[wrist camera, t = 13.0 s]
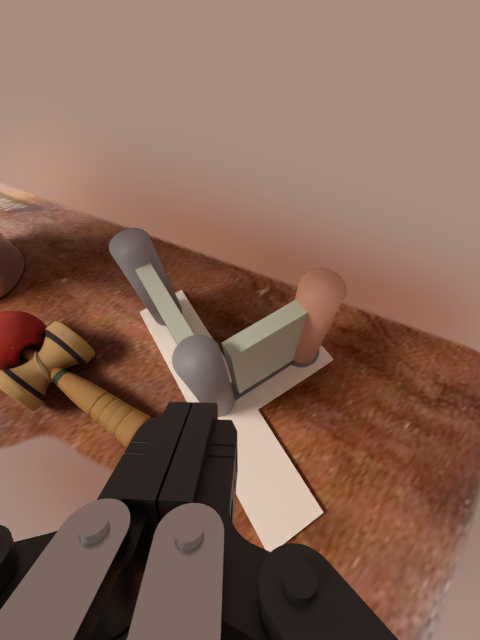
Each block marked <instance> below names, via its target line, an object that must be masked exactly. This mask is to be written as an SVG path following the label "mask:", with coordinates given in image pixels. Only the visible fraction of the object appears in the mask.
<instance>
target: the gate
mask: <svg viewBox="0 0 480 640" xmlns="http://www.w3.org/2000/svg"><path fill="white" fill-rule="evenodd" d="M345 294H346V285H345V282H344V280H343V279H342V278H341V277H340V275H338V274H337V273H336V272H334V271H332V270H329V269H325V268H316V269H312V270H309V271H307V272H306V273H305V274H303V275H302V277H301V278H300V280H299V284H298V288H297V293H296V297H295V300H294V301H292V302H291V303H289V304H287V305H286V306H284V307H282V308H280V309H279V310H277V311H275V312H273V313H272V314H270V315H268V316H267V317H265V318H263V319H261V320H260V321H258V322H256V323H254V324H253V325H251V326H249V327H248V328H246V329H244V330H242V331H241V332H239V333H237V334H236V335H234V336H232V337H230V338H229V339H227V340H225V341H223V342H222V346H223V350H224V354H225V357H226V361H227V365H228V368H229V372H230V376H231V379H232V383H233V384H234V386H235V388H236V389H237V391H238V393H239V394H240V393H242V392H243V391H245V390H246V389H248V388H249V387H251V386H253V385H254V384H256V383H257V382H259V381H261V380H262V379H264V378H265V377H267V376H269V375H270V374H272V373H273V372H275V371H277V370H278V369H280V368H281V367H283V366H284V365H286V364H288V363H289V362H291V361H294V362H297V363H308V362H310V361H311V360H313V359H314V357H315V356H316V354H317V352H318V350H319V348H320V346H321V344H322V342H323V340H324V338H325V336H326V334H327V332H328V330H329V328H330V326H331V324H332V321H333V319H334V317H335V315H336V313H337V311H338V309H339V307H340V305H341V303H342V301H343V299H344V297H345Z"/></svg>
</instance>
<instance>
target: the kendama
mask: <svg viewBox="0 0 480 640" xmlns="http://www.w3.org/2000/svg"><path fill="white" fill-rule="evenodd" d="M94 356H95V352H94V350H93V349H92V348H91V347H90V345H89V344H88V343H87V342H86V341H84V340H83V339H82V338H81V337H80V336H79V335H78V334H76V333H75V332H74V331H73V330H72V329H70V328H69V327H67V326H66V325H64V324H63V323H61V322H58V321H55V322H53V323H52V324H51V325H50V326H48V327H46V325H45V324H44V323H43V322H42V321H41V320H40V319H38V318H37V317H35V316H33V315H31V314H28V313H25V312H21V311H5V312H0V389H1V390H3V391H4V392H5V393H6V394H8V395H9V396H10V397H12V398H13V399H14V400H16V401H17V402H19V403H20V404H22V405H23V406H25V407H27V408H28V409H30V410H32V411H36V410H37V409H38V408H39V407H40V406H42V405H43V404H44V400H45V393H46V390H47V387H48V385H49V383H51V382H54V383H55V384H56V386H58V387H59V388H60V389H61V390H62V391H63V392H64V393H65V394H66V396H68V397H69V398H70V399H71V400H72V401H73V402H74V403H75V404H76V405H77V406H78V407H79V408H80V409H82V410H83V411H84V412H85V413H86V414H88V415H89V416H91V418H93V419H94V420H95V421H96V422H98V423H99V424H100V425H101V426H102V427H103V428H105V429H106V430H107V431H108V432H109V433H110V434H112V435H113V436H115V438H116V439H117V440H118V441H119V442H121V443H122V444H123V445H124V446H125V447H126V448H127V447H128V445H129V444H130V443H131V440H132V439H133V437H134V435H135V433H136V432H137V430H138V428H139V427H140V426H142V425H143V424H144V423H145V422H146V421H148V420H149V419H150V418H151V417H150V416H149V415H147V414H145V413H143V412H141V411H139V410H138V409H135V408H134V407H132V406H131V405H129V404H127V403H125V402H124V401H122V400H120V399H118V398H117V397H115V396H114V395H112V394H109V392H107V391H105V390H104V389H102V388H100V387H99V386H97V385H95V384H93V383H92V382H90V381H88V380H86V379H84V378H82V377H80V376H77V375H75V374H73V373H71V372H69V371H67V370H65V369H66V368H68V367H70V366H74V365H78V364H87V363H88V362H89V361H90V360H91V359H92V358H93V357H94Z"/></svg>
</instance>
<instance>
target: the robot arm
mask: <svg viewBox="0 0 480 640" xmlns="http://www.w3.org/2000/svg"><path fill="white" fill-rule="evenodd" d="M23 270H24V258H23V255H22V254H21V252H20V251H19V250H18V249H17V248H16V247H15V246H14V245H13V244H12V243H11V242H10V241H9V240H7V239H6V238H5V237H4V236H3V235H2V234H1V233H0V298H1V297H2V296H4V295H5V294H7V293H8V292H9V291H10V290H11V289H12V288H13V287H14V286H15V284H16V283H17V282H18V281H19V279H20V277H21V275H22V273H23ZM237 473H238V448H237V430H236V428H235V425H234V423H233V421H232V420H220V419H218V406H217V403H204V402H194V403H193V402H169V403H168V405H167V407H166V409H165V411H164V413H163V415H162V417H161V418H160V417H151V418H150V419H149V420H148V421H146V422H145V423H144V424H143V425H142V426H140V427H139V428H138V430H137V432H136V433H135V435H134V437H133V439H132V440H131V443H130V444H129V445H128V447H127V449H126V451H125V454H124V455H123V456H122V458H121V459H120V461H119V463H118V464H117V466H116V468H115V470H114V471H113V473H112V475H111V477H110V478H109V480H108V482H107V483H106V485H105V487H104V489H103V490H102V493H101V494H100V495H99V497H98V499H97V500H96V501H93V502H90V503H88V504H86V505H84V506H83V507H81V508H79V509H78V510H76V511H75V512H74V513H73V514H72V515H70V517H69V518H68V519H67V520H66V521H65V522H64V523H63V525H62V526H61V527H60V529H59V530H58V531H55V532H52V533H49V534H45V535H41V536H37V537H33V538H29V539H25V540H21V541H17V542H14V541H13V538H12V535H11V532H10V531H9V529H7V528H6V527H5V526H2V525H0V640H398V639H397V638H396V637H395V636H394V634H393V633H392V632H391V631H390V630H389V629H388V628H387V627H386V626H385V624H384V623H383V622H382V621H381V620H380V619H379V618H378V617H377V616H376V614H375V613H374V612H373V611H372V610H371V609H370V608H369V607H368V606H367V604H366V603H365V602H364V601H363V600H362V599H361V598H360V597H359V595H358V594H357V593H356V592H355V591H354V590H353V589H352V588H351V587H350V585H349V584H348V583H347V582H346V581H345V580H344V579H343V578H342V577H341V575H340V574H339V573H338V572H337V571H336V570H335V569H334V568H333V567H332V565H331V564H330V563H329V562H328V561H327V560H326V559H325V558H324V557H323V556H322V555H321V554H320V553H318V552H317V551H315V550H314V549H312V548H310V547H308V546H305V545H302V544H296V543H290V544H284V545H281V546H279V547H277V548H275V549H274V550H272V551H271V552H269V551H267V550H265V549H262V548H260V547H258V546H256V545H254V544H252V543H250V542H248V541H247V540H245V539H244V538H243V537H242V536H241V535H240V534H239V533H238V532H237V530H236V529H235V527H234V525H233V520H234V508H235V497H236V485H237Z"/></svg>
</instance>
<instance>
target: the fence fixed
mask: <svg viewBox="0 0 480 640" xmlns="http://www.w3.org/2000/svg"><path fill="white" fill-rule="evenodd" d="M109 251H110V253H111V255H112V256H113V258H114V259H115V261H116V262H117V264H118V265H119V267H120V268H121V270H122V271H123V273H124V274H125V276H126V277H127V279H128V280H129V282H130V283H131V285H132V286H133V288H134V289H135V291H136V292H137V294H138V295H139V297H140V299H141V300H142V302H143V303H144V305H145V306H146V308H147V309H148V311H149V312H150V314H151V315H152V317H153V318H154V320H155V321H156V322H157V323H158V324H160V325H163V326H167V327H168V329H169V331H170V332H171V334H172V336H173V338H174V339H175V341H176V343H177V346H176V348H175V350H174V352H173V355H172V365H173V368H174V370H175V372H176V373H177V374H178V376H179V377H180V378H181V379H182V381H183V382H184V383H185V384H186V386H187V387H188V388H189V389H190V391H191V392H192V393H193V394H194V396H195V397H196V398H197V399H198V401H199V402H204V403H217V406H218V417H221V416H224V415H226V414H228V413H229V412H230V411H231V410H232V408H233V406H234V403H235V398H234V394H233V390H232V387H231V384H230V380H229V377H228V374H227V370H226V367H225V363H224V360H223V357H222V353H221V350H220V347H219V345H218V344H217V342H216V341H215V340H213V339H212V338H210V337H208V336H206V335H194V334H193V332H192V331H191V329H190V327H189V326H188V324H187V322H186V321H185V319H184V317H183V316H182V307H181V305H180V303H179V300H178V298H177V296H176V294H175V292H174V289H173V287H172V285H171V283H170V281H169V278H168V276H167V274H166V272H165V270H164V267H163V265H162V263H161V261H160V259H159V256H158V254H157V252H156V250H155V248H154V245H153V243H152V241H151V239H150V237H149V235H148V233H146V231H144V230H142V229H138V228H129V229H125V230H123V231H121V232H119V233H117V234H116V235H115V236H114V237H113V238H112V240H111V241H110V244H109Z"/></svg>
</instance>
